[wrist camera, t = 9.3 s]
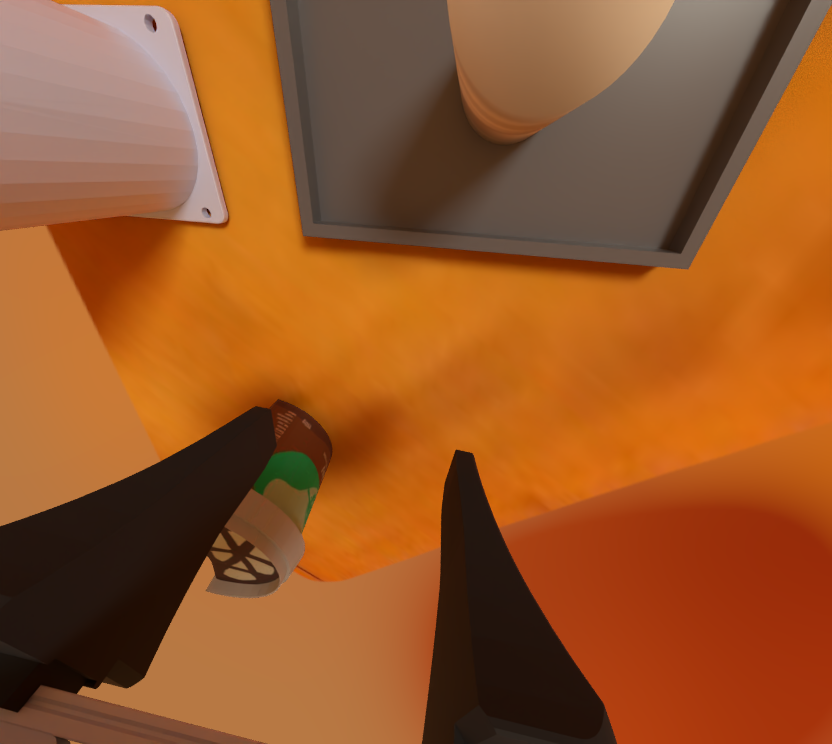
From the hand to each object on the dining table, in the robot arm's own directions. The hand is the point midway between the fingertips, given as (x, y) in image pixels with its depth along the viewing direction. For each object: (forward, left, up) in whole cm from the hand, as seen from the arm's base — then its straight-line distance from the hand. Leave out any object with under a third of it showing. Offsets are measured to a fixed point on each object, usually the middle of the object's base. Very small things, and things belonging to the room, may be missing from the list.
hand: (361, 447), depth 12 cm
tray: (+4, +12, -9) cm, 16 cm away
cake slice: (-8, -12, -10) cm, 17 cm away
